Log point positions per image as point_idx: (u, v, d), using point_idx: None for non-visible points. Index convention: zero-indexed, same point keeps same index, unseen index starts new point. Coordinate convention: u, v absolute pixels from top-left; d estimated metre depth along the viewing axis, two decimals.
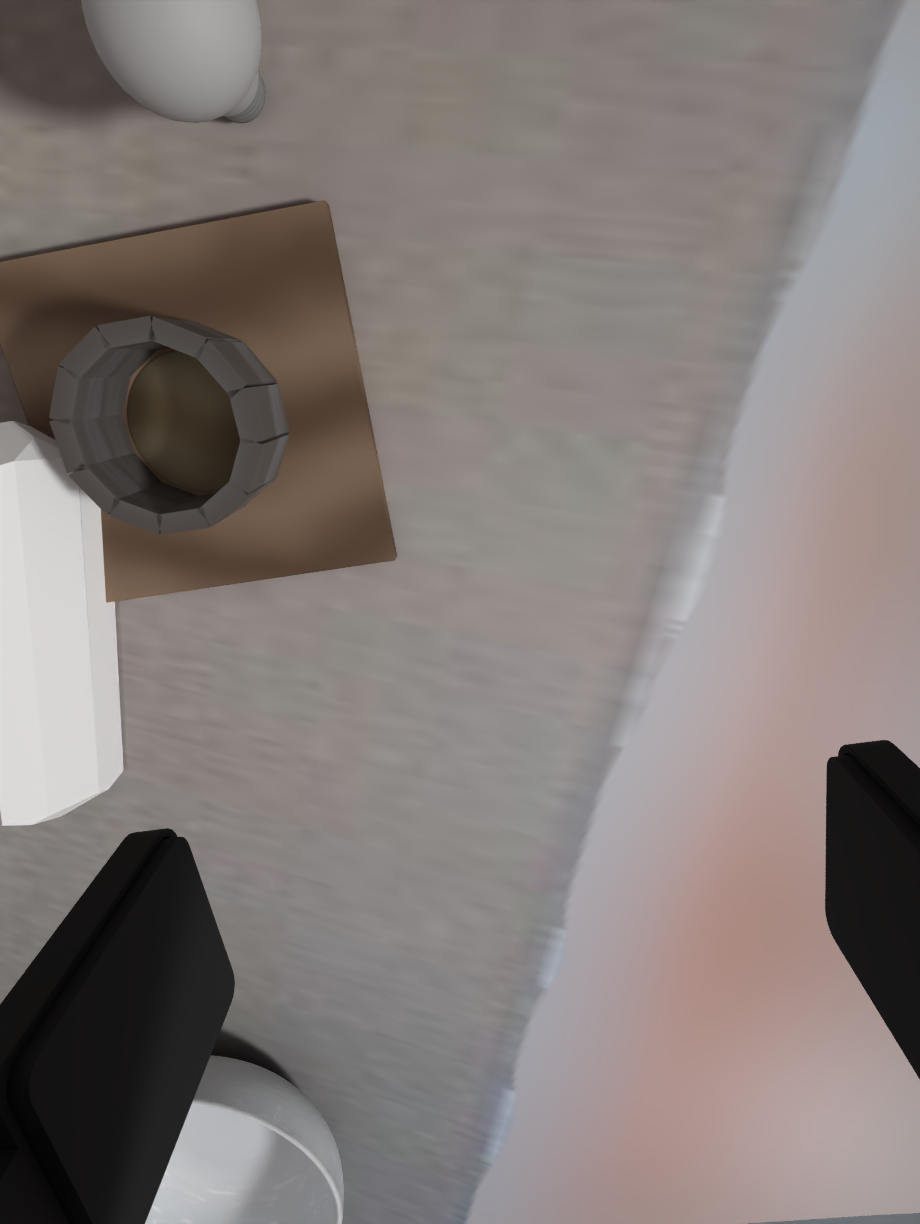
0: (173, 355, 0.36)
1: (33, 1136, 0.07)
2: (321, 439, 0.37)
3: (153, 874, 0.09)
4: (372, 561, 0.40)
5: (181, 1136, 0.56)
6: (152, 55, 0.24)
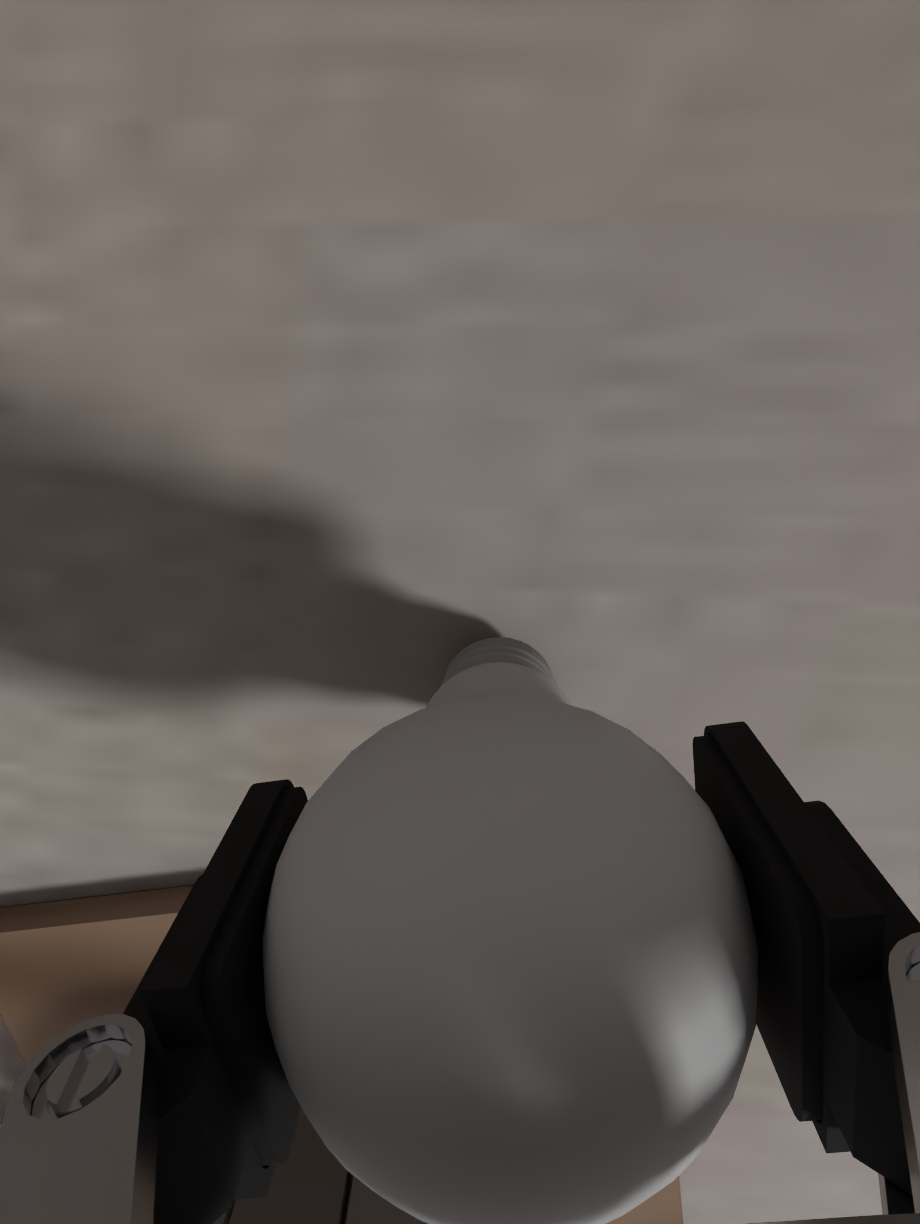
0: None
1: (220, 1035, 0.07)
2: None
3: (285, 817, 0.10)
4: None
5: None
6: None
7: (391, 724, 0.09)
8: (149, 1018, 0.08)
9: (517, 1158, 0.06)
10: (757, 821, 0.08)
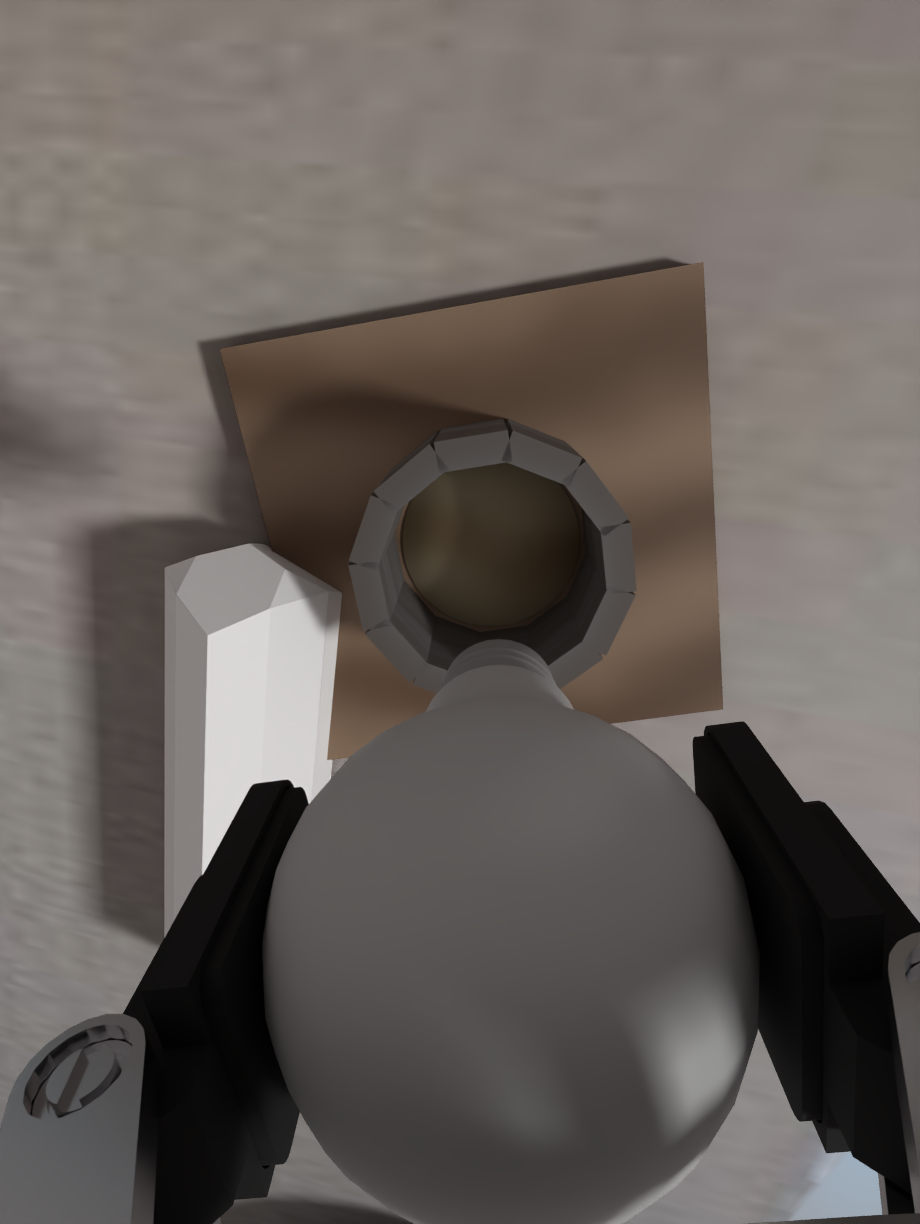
0: None
1: (219, 1034, 0.07)
2: (650, 564, 0.29)
3: (285, 817, 0.10)
4: (693, 710, 0.31)
5: None
6: None
7: (391, 728, 0.09)
8: (149, 1018, 0.08)
9: (519, 1165, 0.06)
10: (757, 821, 0.08)
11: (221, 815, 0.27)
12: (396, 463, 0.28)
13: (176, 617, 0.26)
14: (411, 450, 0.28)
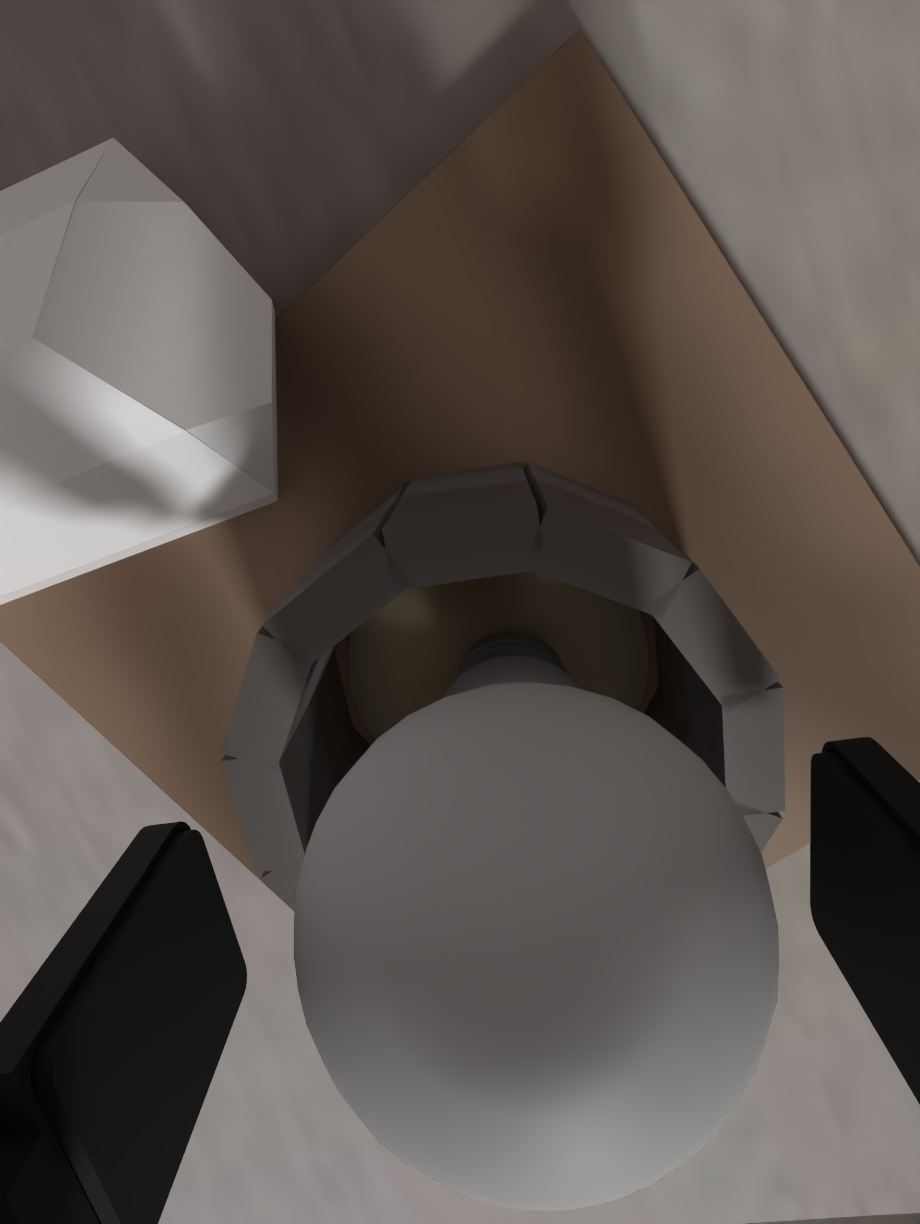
0: None
1: (56, 1121, 0.07)
2: None
3: (169, 866, 0.09)
4: None
5: None
6: None
7: (416, 711, 0.10)
8: None
9: (553, 1123, 0.06)
10: (918, 852, 0.07)
11: None
12: (541, 465, 0.15)
13: (23, 227, 0.10)
14: (574, 478, 0.15)
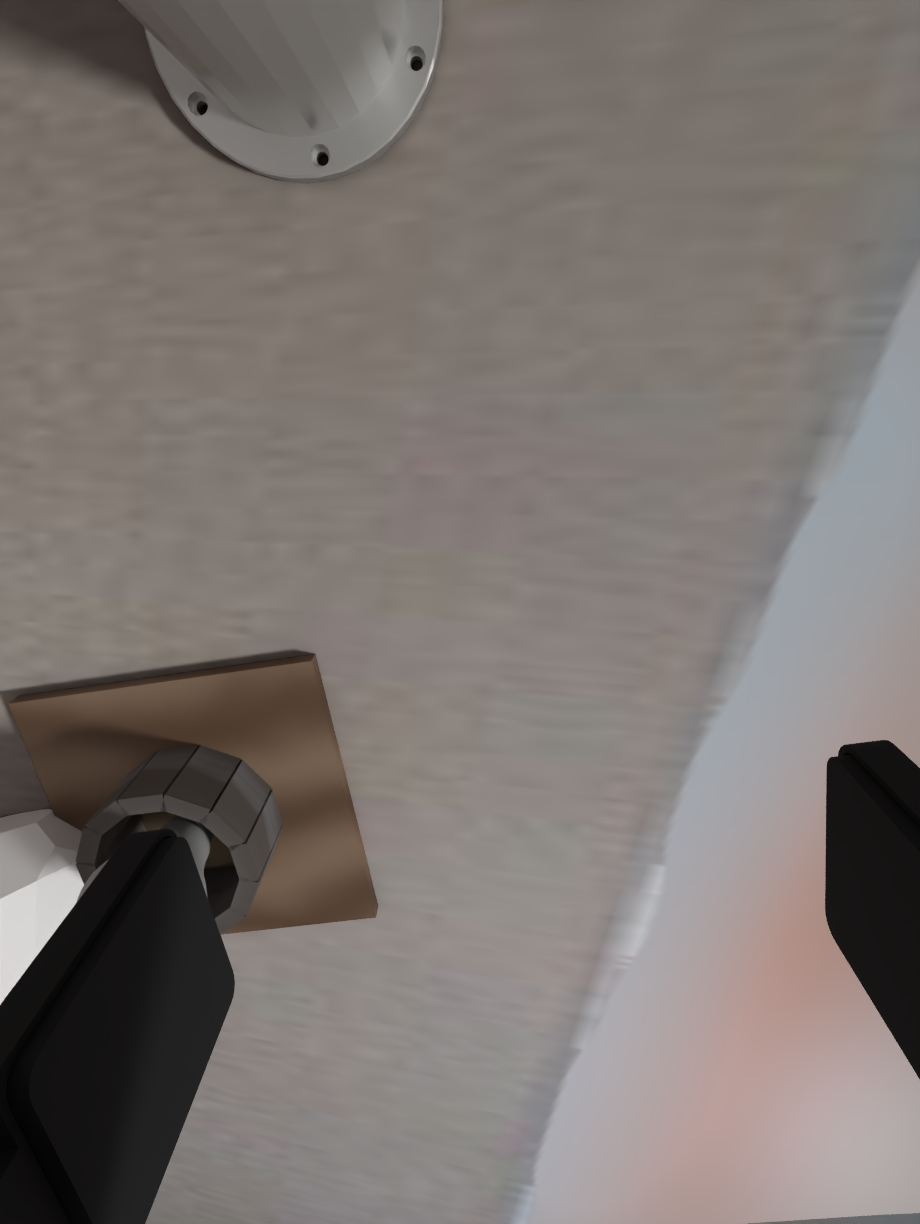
0: None
1: (33, 1136, 0.07)
2: (310, 829, 0.43)
3: (153, 874, 0.09)
4: (356, 918, 0.45)
5: None
6: None
7: None
8: None
9: None
10: None
11: None
12: (131, 769, 0.42)
13: None
14: (140, 762, 0.42)
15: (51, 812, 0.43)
